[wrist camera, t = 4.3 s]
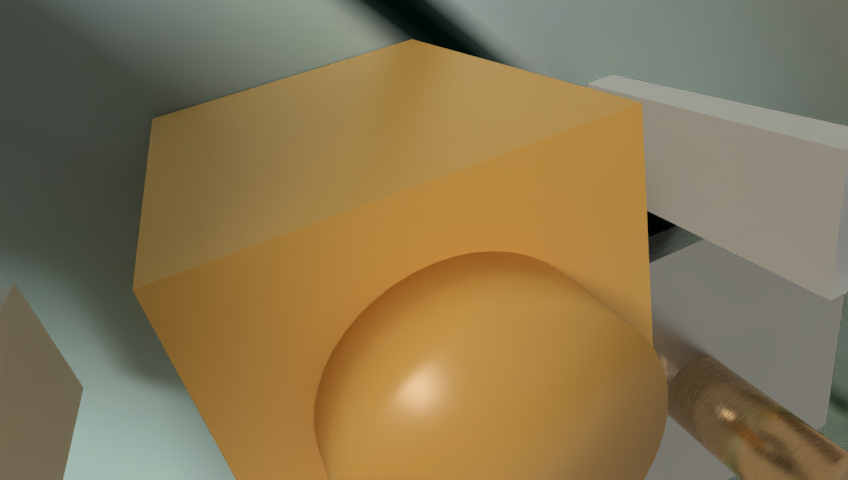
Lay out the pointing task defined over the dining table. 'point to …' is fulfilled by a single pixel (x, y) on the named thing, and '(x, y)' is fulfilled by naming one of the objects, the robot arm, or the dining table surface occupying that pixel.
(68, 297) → the dining table surface
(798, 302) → the plate
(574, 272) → the orange knobbed block
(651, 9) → the dining table surface
